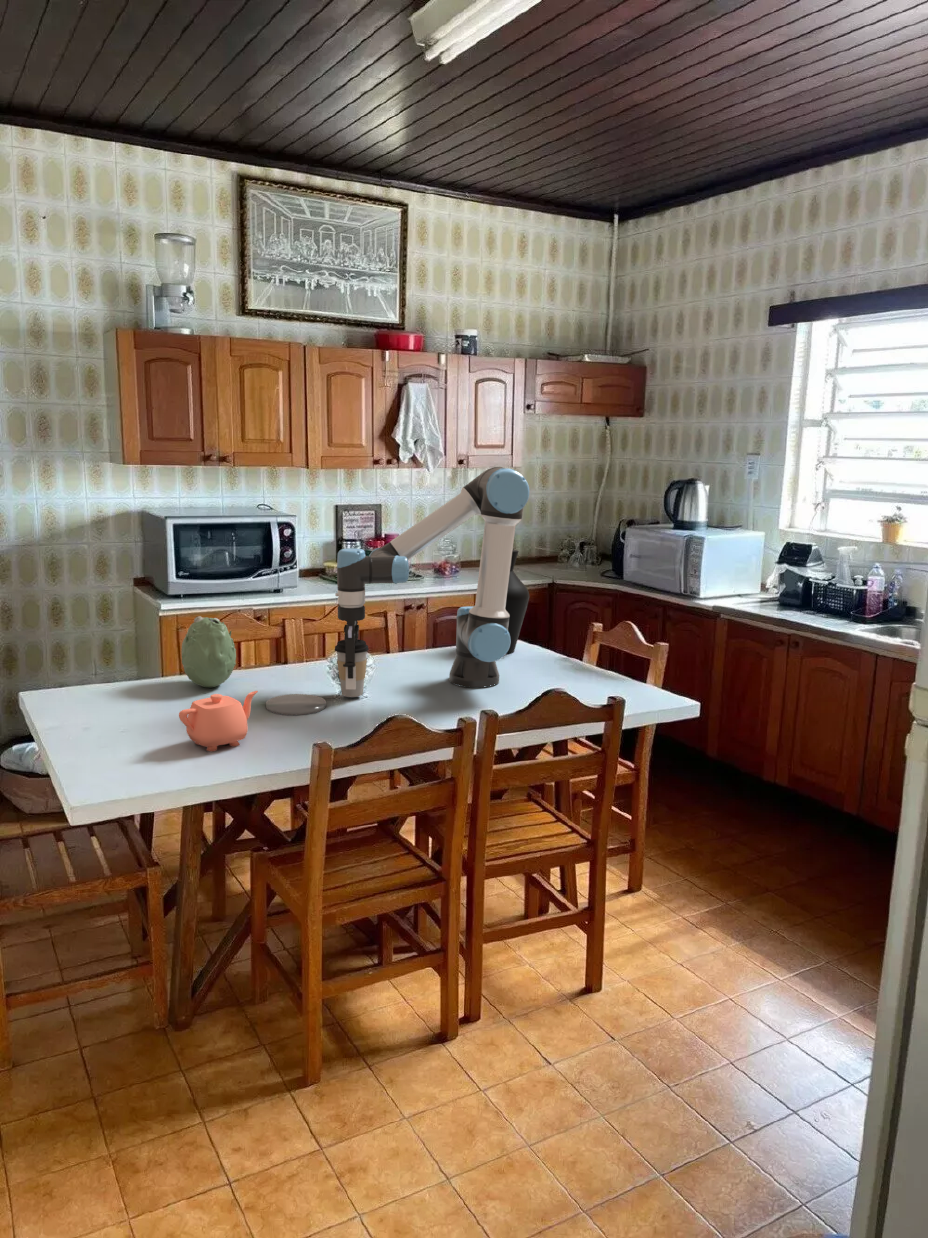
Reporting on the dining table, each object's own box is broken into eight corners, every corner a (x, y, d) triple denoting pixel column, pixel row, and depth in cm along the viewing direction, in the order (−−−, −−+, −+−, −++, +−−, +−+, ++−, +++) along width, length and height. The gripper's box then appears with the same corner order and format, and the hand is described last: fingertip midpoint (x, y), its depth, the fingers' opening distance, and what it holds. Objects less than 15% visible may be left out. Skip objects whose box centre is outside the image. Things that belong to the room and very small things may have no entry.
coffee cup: (371, 690, 262) (371, 639, 259) (365, 699, 253) (364, 646, 249) (339, 688, 263) (338, 637, 259) (331, 698, 253) (330, 645, 250)
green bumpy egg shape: (192, 698, 252) (190, 627, 248) (173, 681, 268) (170, 614, 264) (247, 690, 261) (246, 622, 257) (225, 675, 276) (224, 609, 272)
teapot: (192, 759, 207) (190, 708, 205) (169, 744, 216) (167, 695, 213) (270, 741, 220) (269, 693, 218) (246, 728, 229) (245, 682, 226)
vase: (505, 659, 305) (509, 555, 298) (466, 650, 316) (470, 549, 309) (536, 651, 318) (541, 551, 311) (498, 643, 329) (502, 546, 322)
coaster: (328, 698, 256) (328, 694, 256) (322, 715, 241) (322, 712, 241) (270, 697, 256) (270, 693, 255) (261, 714, 240) (261, 711, 240)
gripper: (340, 597, 262) (341, 674, 267) (334, 612, 242) (335, 695, 247) (367, 598, 263) (367, 674, 267) (362, 612, 242) (363, 695, 247)
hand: (351, 684), depth 257 cm, fingers closed on coffee cup, 8 cm apart
